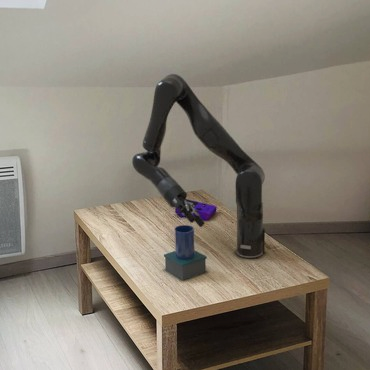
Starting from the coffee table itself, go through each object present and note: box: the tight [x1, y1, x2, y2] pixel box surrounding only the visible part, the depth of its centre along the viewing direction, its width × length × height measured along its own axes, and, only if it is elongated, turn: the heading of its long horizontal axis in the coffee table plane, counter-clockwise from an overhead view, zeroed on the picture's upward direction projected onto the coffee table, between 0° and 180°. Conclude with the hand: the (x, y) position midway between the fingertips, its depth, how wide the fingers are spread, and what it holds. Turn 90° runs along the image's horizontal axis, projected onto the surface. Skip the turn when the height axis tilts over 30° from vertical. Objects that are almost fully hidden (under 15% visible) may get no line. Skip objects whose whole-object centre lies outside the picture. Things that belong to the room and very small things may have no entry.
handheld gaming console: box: [174, 198, 218, 221], centre depth 291 cm, size 9×5×15 cm
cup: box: [174, 224, 196, 260], centre depth 239 cm, size 7×7×10 cm
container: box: [163, 250, 208, 281], centre depth 242 cm, size 11×11×6 cm
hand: (198, 223), depth 246 cm, fingers open, 8 cm apart
